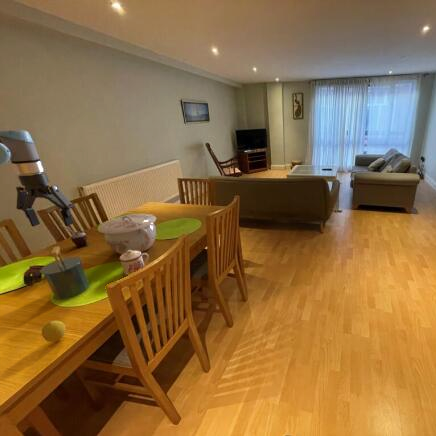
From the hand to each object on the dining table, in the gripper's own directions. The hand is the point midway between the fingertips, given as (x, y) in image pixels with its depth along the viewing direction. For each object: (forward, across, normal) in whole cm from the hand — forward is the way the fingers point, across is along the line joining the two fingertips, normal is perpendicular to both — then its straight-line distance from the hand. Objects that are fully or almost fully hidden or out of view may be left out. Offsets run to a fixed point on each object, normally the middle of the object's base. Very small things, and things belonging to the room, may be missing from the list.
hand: (52, 225), depth 98 cm
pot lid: (+17, -2, +5) cm, 17 cm away
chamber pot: (+29, -8, -31) cm, 44 cm away
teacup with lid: (+29, -22, -10) cm, 38 cm away
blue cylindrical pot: (+29, -2, +5) cm, 30 cm away
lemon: (+29, -19, +31) cm, 47 cm away
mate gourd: (+29, +27, -36) cm, 54 cm away
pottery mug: (+29, +20, -3) cm, 35 cm away
